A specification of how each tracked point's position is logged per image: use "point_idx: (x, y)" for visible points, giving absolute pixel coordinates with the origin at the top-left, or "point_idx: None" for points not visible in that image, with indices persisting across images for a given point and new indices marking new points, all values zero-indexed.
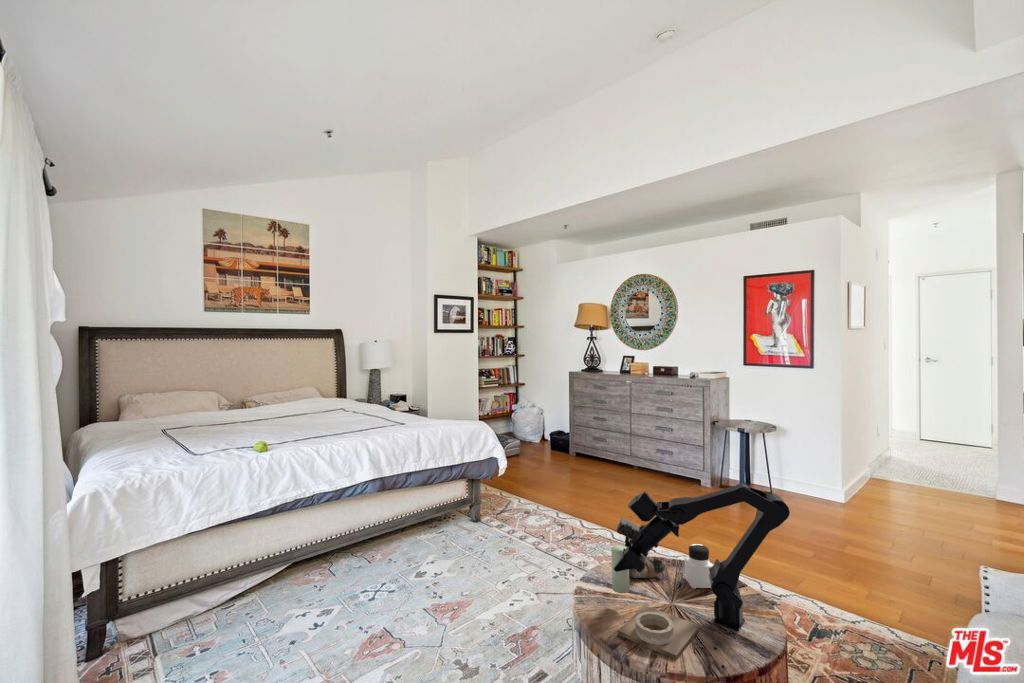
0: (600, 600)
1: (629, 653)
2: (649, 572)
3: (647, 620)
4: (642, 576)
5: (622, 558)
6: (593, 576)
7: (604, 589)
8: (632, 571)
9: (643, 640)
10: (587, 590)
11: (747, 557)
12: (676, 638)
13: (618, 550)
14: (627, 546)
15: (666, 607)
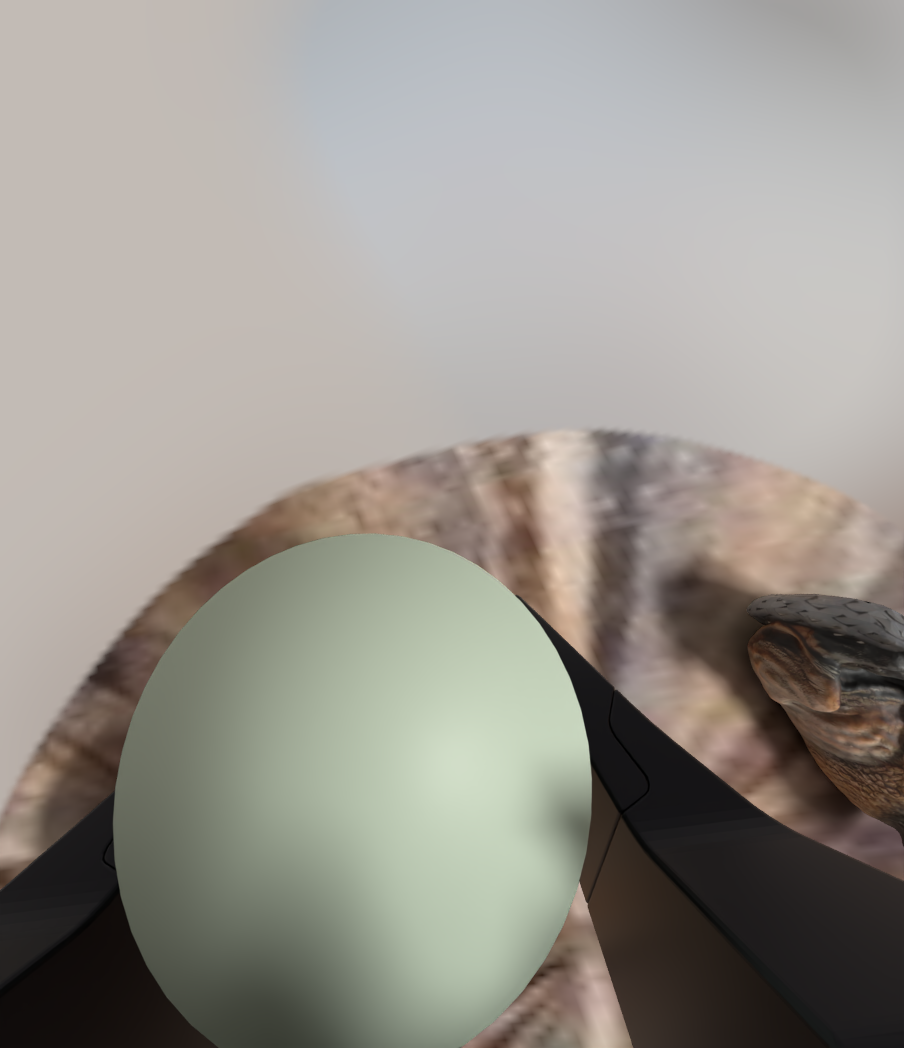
0: (454, 531)
1: (57, 754)
2: (848, 770)
3: None
4: (790, 714)
5: (41, 862)
6: (663, 448)
7: (563, 527)
8: (774, 660)
9: None
10: (518, 455)
11: None
12: None
13: (213, 746)
14: (665, 920)
15: None
